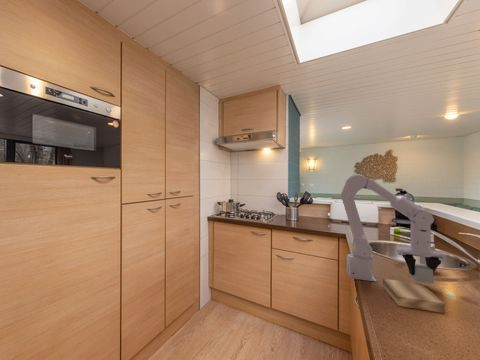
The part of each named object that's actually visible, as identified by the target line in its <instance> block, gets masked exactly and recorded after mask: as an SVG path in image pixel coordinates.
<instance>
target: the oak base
mask: <svg viewBox="0 0 480 360" xmlns="http://www.w3.org/2000/svg"><path fill="white" fill-rule="evenodd" d="M382 287H383V289H384V290H385V291H386V292H387V293H388V295H389V297H391V298H392V299H393V301H394V302H395V303H396V305H397V306H399V307H404V308H412V309H416V310H424V311H429V312H435V313H436V312H437V313H443V314H445V313H446V307H445V306H446V304H445V302H444V301H443V300H441V298H439V297H438V296H436V295H435V294H434V293H433V292H432V291H430V290H429V289H428V288H427V286H425V285H423V284H422V282H413V281H412V282H411V281H405V280H404V281H403V280H396V279H389V278H388V279H386V278H382Z"/></svg>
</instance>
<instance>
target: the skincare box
mask: <svg viewBox="0 0 480 360" xmlns="http://www.w3.org/2000/svg"><path fill="white" fill-rule="evenodd" d="M431 251H434V252H436V244H434V243H431ZM419 264H425V265H426V259H425V257H420V256H419ZM436 272H437V269H436V270H435V272H434V274H436Z"/></svg>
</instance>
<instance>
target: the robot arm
mask: <svg viewBox="0 0 480 360" xmlns="http://www.w3.org/2000/svg"><path fill="white" fill-rule="evenodd" d="M362 189H365V190H371V191H372V192H374V193H376V194H377V195H379V196H380V197H382V198H384V199H385V200H386V201H388V202H389V203H390V206H391V207H392V209H395V210H396V211H397V212H399V213H401V214H402V215H404V216H405V217H407V218H408V219H409V221H410V248H397V249H396V253H397V255H398V256H402V258H403V259H404V261H405V263H406V265H407V268H408V272H409V273H410V274H411V275H414V274H415V263H417V262H416V261H417V259H416V258H415V257H419V258H420V257H425V259H426V266H428V267H429V268H431V269H432V270H433V275H434V274H435V273H436V272H435V270H436V271H437V268H438V267H439V266H440V264H442V260H447V254H446V253H444V252H440V251H435V252H434V251H431V244H432V233H431V232H432V231H431V227H432V224H433V223H434V221H435V218H434V216H433V215H432V213H431V212H430V211H427V210H425V209H422V206H421V205H420V204H418V205H417V204H416V203H414V202H412V201H411V200H410V197H408V196H405V195H404V196H403V195H396V194H394V193H392V192H391V191H390V190H389V189H387V188H385V187H384V186H382V185H380V183H378V182H377V181H374V180H373V179H371V178H369V177H366V176H365V175H363V174H361V173H355V174H352V175H350V176H349V177H348V178H347V179H346V181H345V182H344V185H343V187H342V190H341V193H340V195H341V196H340V197H341V200H342V203H343V206H344V211H345V214H346V217H347V220H348V221H347V222H348V223H349V227H350V230H351V233H352V238H353V240H352V246H353V247H354V250H352V253H347V254H346V268H345V270H346V272H347V275H348V277H349V278H350V279H353V280H362V281H369V282H377V279H376V278H375V276H373V254H374V253H373V252H374V250H373V247H372V246H371V245H370V243H369V240H368V239H367V237H366V233H365V231H364V227H363V224H362V220H361V218H360V215H359V211H358V208H357V205H356V202H355V199H354V198H355V196H356V194H357V193H358V192H359V191H360V190H362ZM440 259H441V260H440ZM434 272H435V273H434ZM409 273H408V274H409Z"/></svg>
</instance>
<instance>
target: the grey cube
mask: <svg viewBox="0 0 480 360" xmlns="http://www.w3.org/2000/svg"><path fill="white" fill-rule="evenodd" d="M408 275H409V276H410V277H411V278H412V279H413V280H414V281H415V282H417V283H427V284H434V274H433V270H432V269H431V268H429V267H428V266H426V265H425V264H420V263H417V262H415V274H414V275H411V274H410V273H408Z"/></svg>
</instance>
